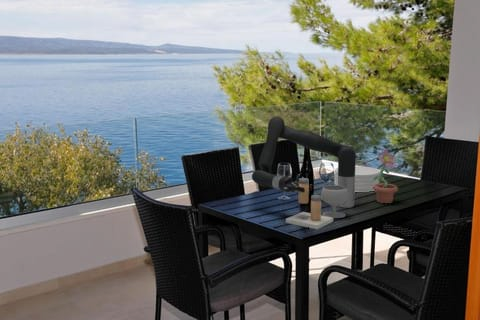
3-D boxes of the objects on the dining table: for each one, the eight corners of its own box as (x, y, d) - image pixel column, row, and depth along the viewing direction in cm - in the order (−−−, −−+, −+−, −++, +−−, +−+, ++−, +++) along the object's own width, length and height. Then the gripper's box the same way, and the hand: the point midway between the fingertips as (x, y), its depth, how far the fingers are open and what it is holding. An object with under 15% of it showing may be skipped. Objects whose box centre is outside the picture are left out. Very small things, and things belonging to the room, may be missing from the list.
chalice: (344, 211, 286) (345, 184, 283) (350, 219, 272) (351, 190, 269) (318, 212, 285) (318, 184, 283) (323, 219, 272) (323, 190, 269)
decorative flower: (383, 206, 295) (385, 153, 290) (365, 201, 307) (367, 150, 301) (402, 203, 302) (405, 151, 297) (384, 198, 314) (386, 147, 309)
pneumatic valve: (295, 192, 329) (295, 173, 327) (309, 189, 336) (310, 170, 334) (300, 193, 325) (301, 174, 323) (315, 191, 331) (315, 172, 329)
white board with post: (302, 215, 279) (302, 189, 276) (333, 221, 268) (334, 194, 266) (285, 222, 267) (286, 195, 264) (317, 229, 256) (317, 201, 253)
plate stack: (345, 194, 324) (346, 176, 322) (327, 184, 351) (327, 167, 349) (387, 191, 331) (388, 173, 329) (366, 182, 357) (366, 165, 355)
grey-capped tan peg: (301, 200, 271) (302, 177, 269) (310, 202, 268) (311, 178, 266) (296, 202, 267) (297, 179, 265) (305, 204, 264) (305, 180, 262)
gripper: (273, 178, 271) (298, 184, 259) (292, 174, 281) (317, 179, 268) (273, 192, 273) (298, 199, 260) (292, 188, 282) (317, 194, 270)
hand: (307, 189), depth 265 cm, fingers closed on grey-capped tan peg, 5 cm apart
